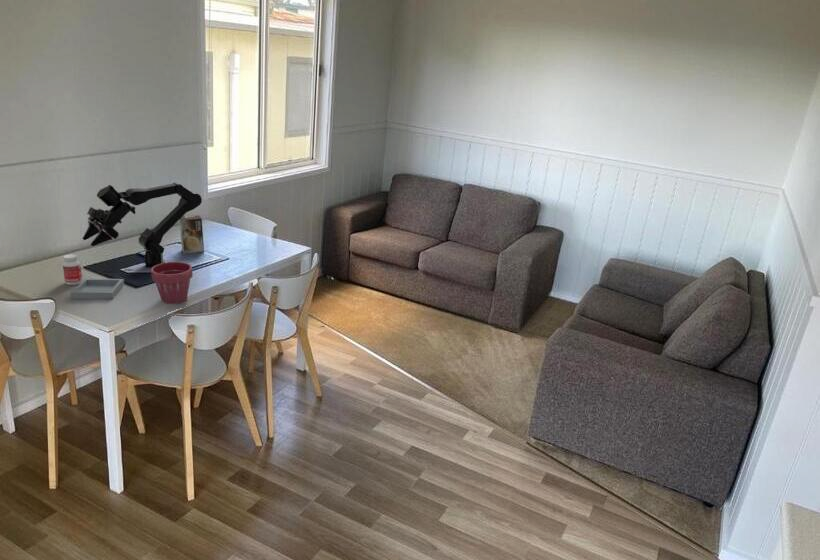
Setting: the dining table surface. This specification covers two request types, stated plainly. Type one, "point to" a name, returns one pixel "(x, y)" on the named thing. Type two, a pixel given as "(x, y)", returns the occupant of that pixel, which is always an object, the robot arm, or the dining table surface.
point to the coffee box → (191, 234)
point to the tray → (97, 289)
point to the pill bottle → (72, 270)
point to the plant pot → (172, 281)
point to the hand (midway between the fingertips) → (87, 242)
